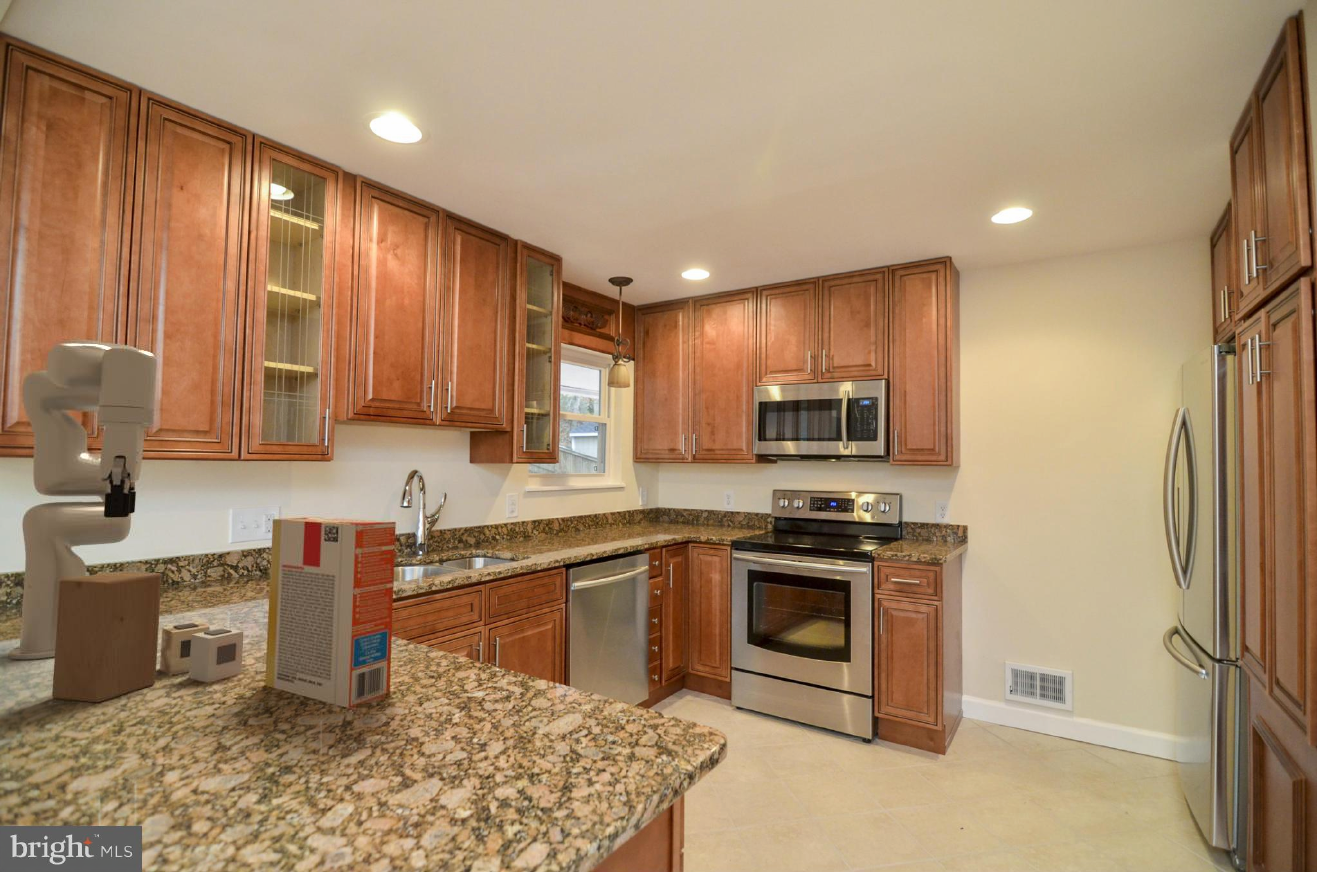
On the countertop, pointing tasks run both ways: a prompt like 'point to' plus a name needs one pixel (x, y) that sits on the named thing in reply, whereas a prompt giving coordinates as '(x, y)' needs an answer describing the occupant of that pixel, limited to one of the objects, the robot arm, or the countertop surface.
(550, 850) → the countertop surface
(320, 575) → the pasta box
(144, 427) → the robot arm
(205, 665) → the marked grey block
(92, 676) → the wooden block
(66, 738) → the countertop surface
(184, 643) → the marked beech block
